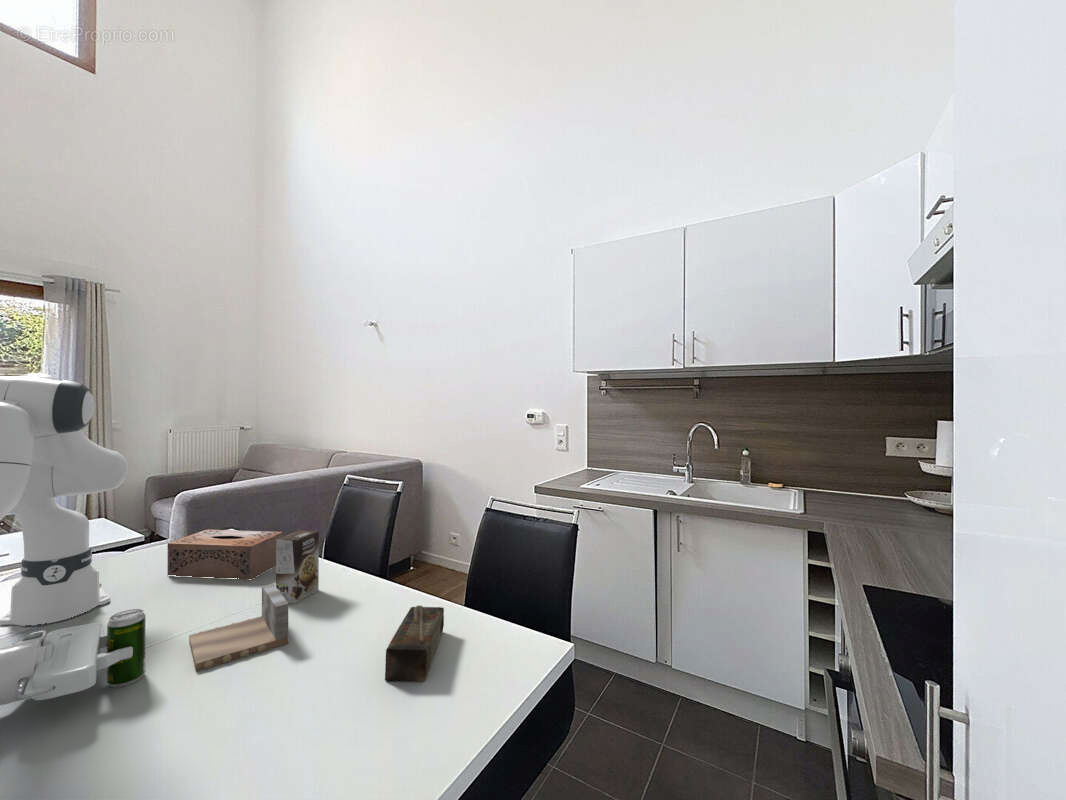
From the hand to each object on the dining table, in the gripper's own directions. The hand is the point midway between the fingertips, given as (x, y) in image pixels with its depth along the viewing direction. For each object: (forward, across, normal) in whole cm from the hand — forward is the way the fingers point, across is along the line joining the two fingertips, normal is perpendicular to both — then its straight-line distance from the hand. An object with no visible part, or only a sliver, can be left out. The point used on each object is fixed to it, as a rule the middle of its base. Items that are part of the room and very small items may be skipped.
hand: (132, 642), depth 87 cm
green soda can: (-1, 0, +7) cm, 7 cm away
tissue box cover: (+22, +54, +7) cm, 58 cm away
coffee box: (+33, +20, +7) cm, 39 cm away
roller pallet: (+17, +2, +6) cm, 18 cm away
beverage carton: (+44, -26, +7) cm, 52 cm away
